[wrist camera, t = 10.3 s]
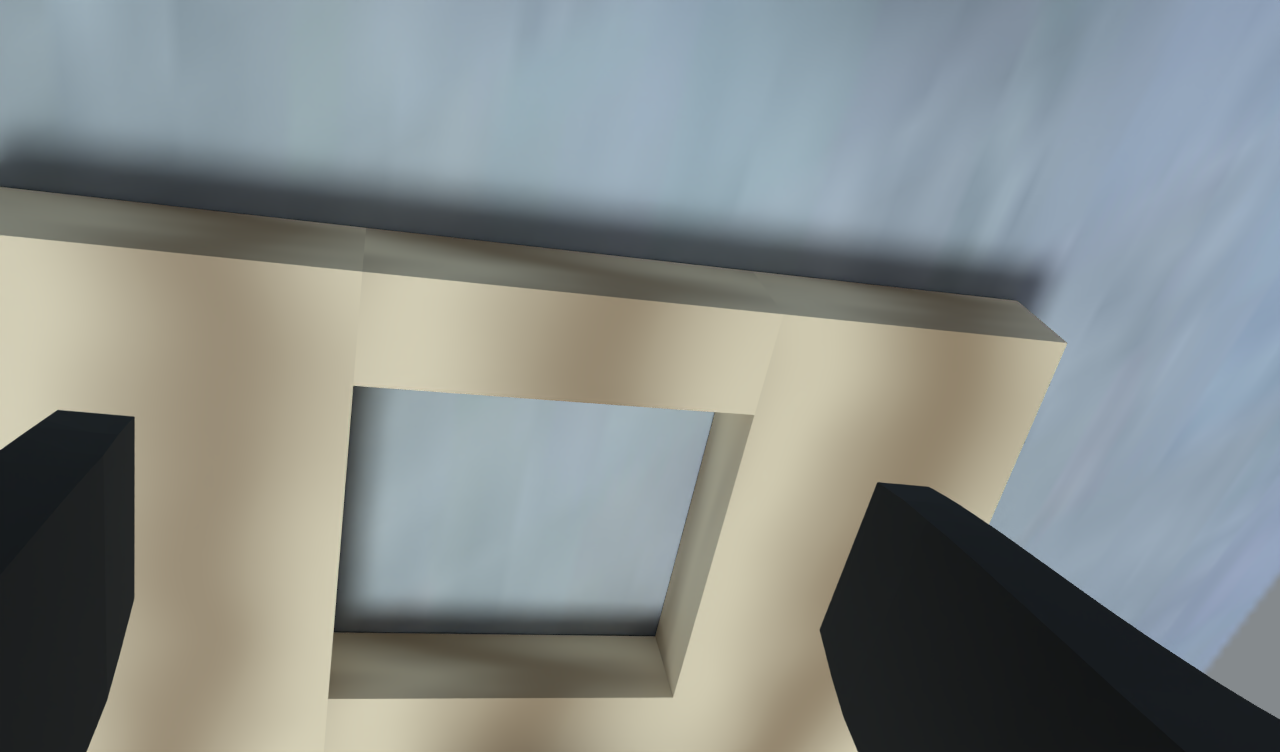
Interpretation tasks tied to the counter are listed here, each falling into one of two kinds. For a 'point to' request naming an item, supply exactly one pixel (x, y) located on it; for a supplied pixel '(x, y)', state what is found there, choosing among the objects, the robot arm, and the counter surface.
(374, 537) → the counter surface
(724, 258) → the counter surface
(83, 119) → the counter surface
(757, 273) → the socket board
